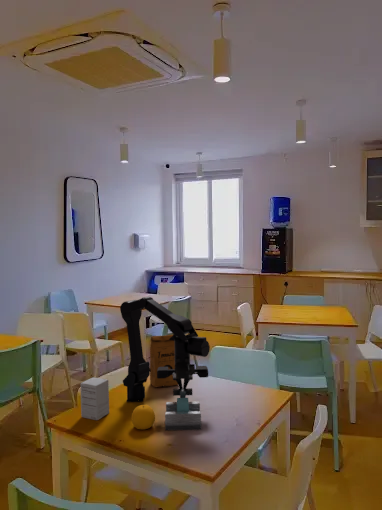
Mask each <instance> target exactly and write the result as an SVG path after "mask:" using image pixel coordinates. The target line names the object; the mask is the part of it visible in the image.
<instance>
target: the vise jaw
mask: <svg viewBox="0 0 382 510" xmlns="http://www.w3.org/2000/svg"><path fill="white" fill-rule="evenodd" d="M172 396H174V397H175V396H177V397H179V398H187V397H186V396H193V388H186V389H180V388H173V389H172ZM188 402H189V411H201V402H200V401H188ZM165 412H177V401H166V402H165Z"/></svg>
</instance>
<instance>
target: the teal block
mask: <svg viewBox="0 0 382 510" xmlns="http://www.w3.org/2000/svg"><path fill="white" fill-rule="evenodd" d="M176 402H177V412H185V411H189V402H190V401H189V397H186V398H180V397H177V398H176Z"/></svg>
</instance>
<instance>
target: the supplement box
mask: <svg viewBox="0 0 382 510" xmlns="http://www.w3.org/2000/svg"><path fill="white" fill-rule="evenodd" d="M109 387H110V386H109V379H107V378H100V377H91V378H89V379H86V380H84V381H83V382H80V408H81V409H80V411H81V413H80V414H81V418H84V419H89V420H94V421H99V420H100V419H102V418H103V417H105V416H107V415H108V414H110V396H109V395H110V394H109V393H110V392H109Z"/></svg>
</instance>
